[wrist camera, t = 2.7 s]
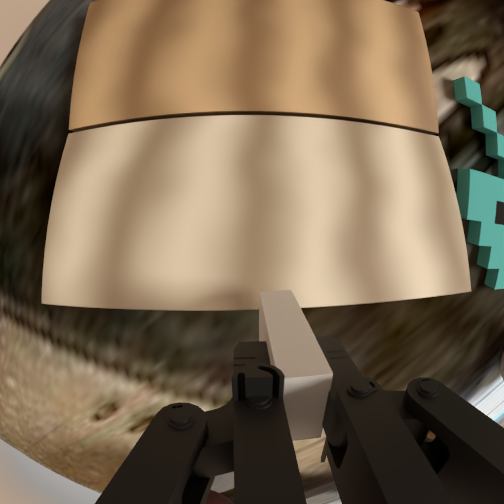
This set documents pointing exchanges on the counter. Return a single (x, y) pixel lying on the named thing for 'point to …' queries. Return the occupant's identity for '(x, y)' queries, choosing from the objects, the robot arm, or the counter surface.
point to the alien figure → (483, 188)
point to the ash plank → (251, 215)
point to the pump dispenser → (502, 365)
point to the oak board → (253, 62)
